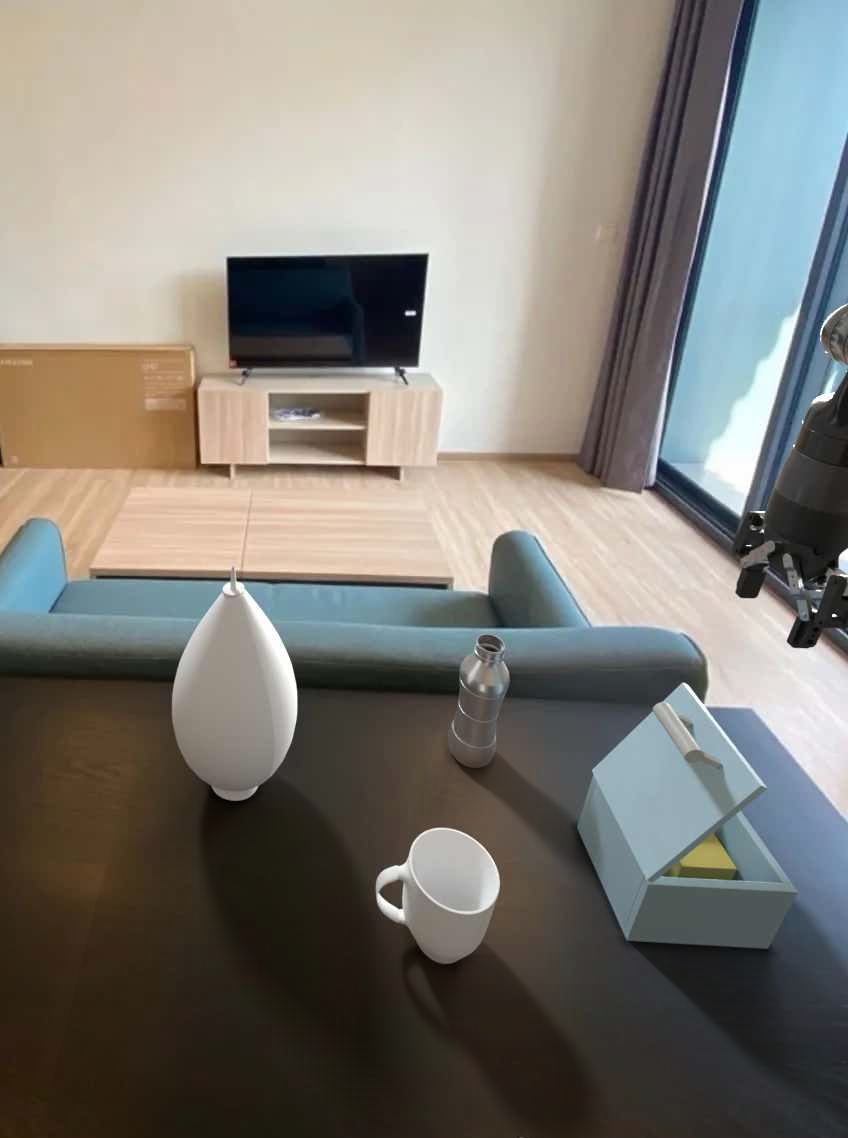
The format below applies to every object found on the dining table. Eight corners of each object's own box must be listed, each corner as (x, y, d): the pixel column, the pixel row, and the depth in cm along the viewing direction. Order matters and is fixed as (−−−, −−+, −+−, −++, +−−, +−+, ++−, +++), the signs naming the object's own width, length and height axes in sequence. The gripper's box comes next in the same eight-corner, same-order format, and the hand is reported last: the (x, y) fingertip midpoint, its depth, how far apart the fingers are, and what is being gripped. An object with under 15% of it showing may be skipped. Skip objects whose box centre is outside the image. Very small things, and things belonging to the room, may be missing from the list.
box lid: (688, 684, 71) (651, 668, 71) (768, 788, 60) (725, 769, 59) (596, 772, 77) (562, 758, 77) (653, 883, 66) (613, 866, 65)
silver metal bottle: (446, 769, 89) (466, 656, 81) (444, 730, 95) (463, 622, 87) (495, 779, 88) (520, 665, 80) (490, 739, 94) (513, 630, 86)
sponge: (701, 855, 78) (712, 830, 76) (725, 894, 73) (737, 869, 72) (650, 853, 78) (660, 827, 76) (671, 892, 74) (682, 866, 72)
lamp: (287, 846, 79) (297, 617, 65) (162, 826, 81) (146, 601, 68) (298, 740, 93) (308, 534, 80) (192, 726, 96) (184, 523, 82)
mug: (472, 901, 73) (488, 830, 69) (490, 992, 65) (510, 919, 61) (368, 889, 75) (377, 818, 70) (374, 978, 66) (384, 905, 62)
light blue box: (696, 835, 81) (719, 780, 77) (766, 951, 69) (798, 892, 65) (576, 829, 81) (593, 774, 77) (625, 943, 70) (648, 884, 66)
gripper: (921, 532, 60) (855, 666, 66) (807, 465, 73) (761, 583, 79) (838, 529, 60) (780, 664, 67) (739, 463, 73) (698, 580, 80)
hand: (770, 619), depth 73 cm, fingers open, 8 cm apart
